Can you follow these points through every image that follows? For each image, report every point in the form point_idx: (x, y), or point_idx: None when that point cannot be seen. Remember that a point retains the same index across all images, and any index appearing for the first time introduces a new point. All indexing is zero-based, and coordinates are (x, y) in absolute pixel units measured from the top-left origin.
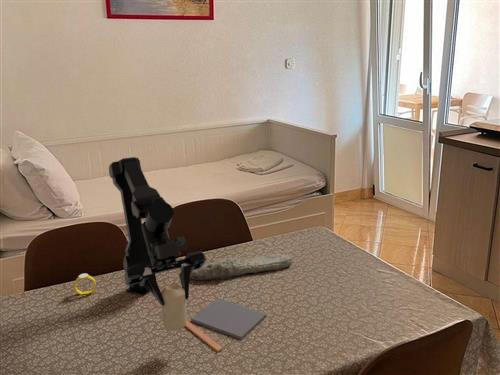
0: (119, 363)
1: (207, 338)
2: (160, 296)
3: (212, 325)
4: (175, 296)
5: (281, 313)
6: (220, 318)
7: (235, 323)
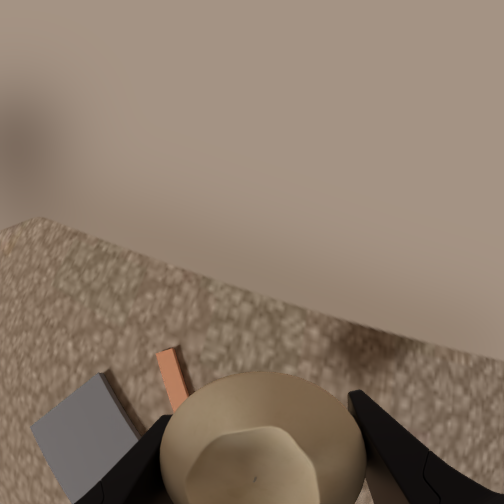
0: (454, 380)
1: None
2: (379, 426)
3: None
4: (253, 378)
5: (12, 416)
6: None
7: (94, 438)
